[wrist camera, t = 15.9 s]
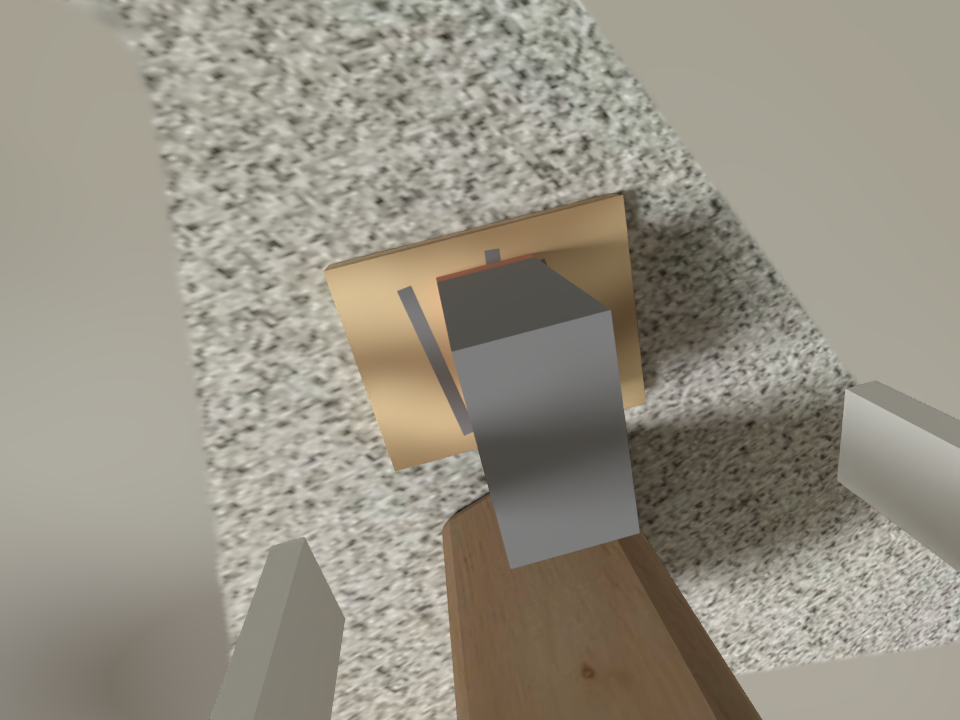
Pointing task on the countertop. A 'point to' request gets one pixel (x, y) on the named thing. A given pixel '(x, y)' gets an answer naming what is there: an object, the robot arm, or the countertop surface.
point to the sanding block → (542, 406)
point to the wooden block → (576, 634)
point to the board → (421, 325)
